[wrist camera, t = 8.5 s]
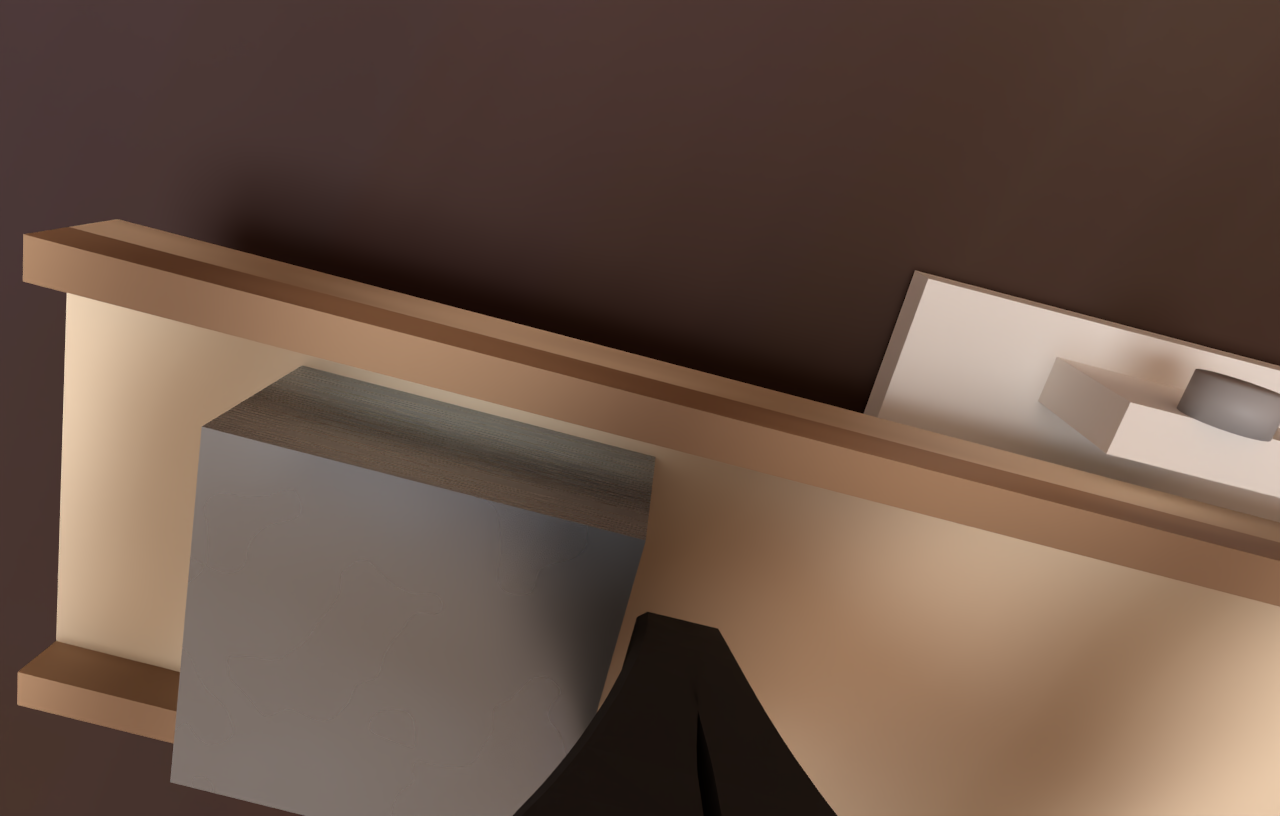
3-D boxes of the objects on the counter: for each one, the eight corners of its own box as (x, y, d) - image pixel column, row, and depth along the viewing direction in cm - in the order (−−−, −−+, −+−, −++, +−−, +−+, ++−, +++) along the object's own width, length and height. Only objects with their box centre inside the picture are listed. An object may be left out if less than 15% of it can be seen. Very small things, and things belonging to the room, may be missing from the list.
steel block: (575, 742, 13) (550, 875, 11) (263, 664, 13) (169, 782, 11) (655, 456, 12) (646, 540, 9) (302, 364, 12) (202, 426, 9)
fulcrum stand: (1090, 853, 18) (1185, 1019, 15) (735, 770, 18) (749, 922, 15) (1350, 384, 15) (1550, 463, 12) (914, 270, 15) (989, 317, 11)
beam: (2184, 757, 13) (2428, 859, 11) (1853, 1072, 15) (2009, 1199, 13) (121, 218, 12) (23, 234, 10) (101, 633, 15) (17, 704, 13)
